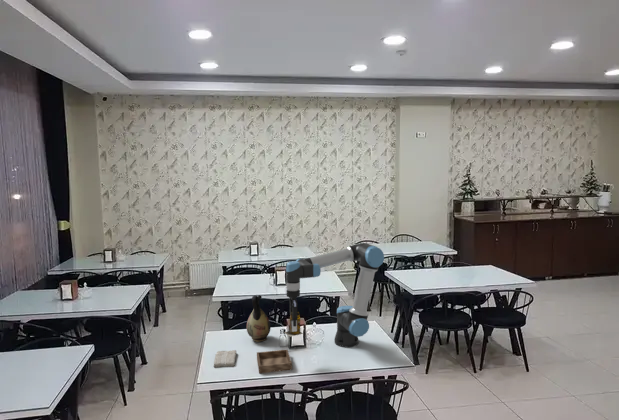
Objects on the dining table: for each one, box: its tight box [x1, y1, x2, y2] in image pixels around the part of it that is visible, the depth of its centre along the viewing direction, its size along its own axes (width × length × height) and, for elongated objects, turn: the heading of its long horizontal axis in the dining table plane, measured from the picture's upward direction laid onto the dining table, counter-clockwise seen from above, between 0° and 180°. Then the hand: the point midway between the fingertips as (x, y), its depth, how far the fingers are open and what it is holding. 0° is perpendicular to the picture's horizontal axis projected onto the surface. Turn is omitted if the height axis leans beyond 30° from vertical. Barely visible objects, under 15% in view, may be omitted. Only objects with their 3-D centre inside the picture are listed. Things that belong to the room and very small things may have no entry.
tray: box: [256, 349, 293, 374], centre depth 248 cm, size 18×18×4 cm
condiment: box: [283, 311, 304, 338], centre depth 248 cm, size 7×8×12 cm
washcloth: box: [213, 349, 237, 368], centre depth 255 cm, size 12×18×3 cm, turn 6°
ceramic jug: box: [246, 294, 272, 343], centre depth 282 cm, size 17×15×30 cm
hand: (293, 329), depth 249 cm, fingers closed on condiment, 6 cm apart
